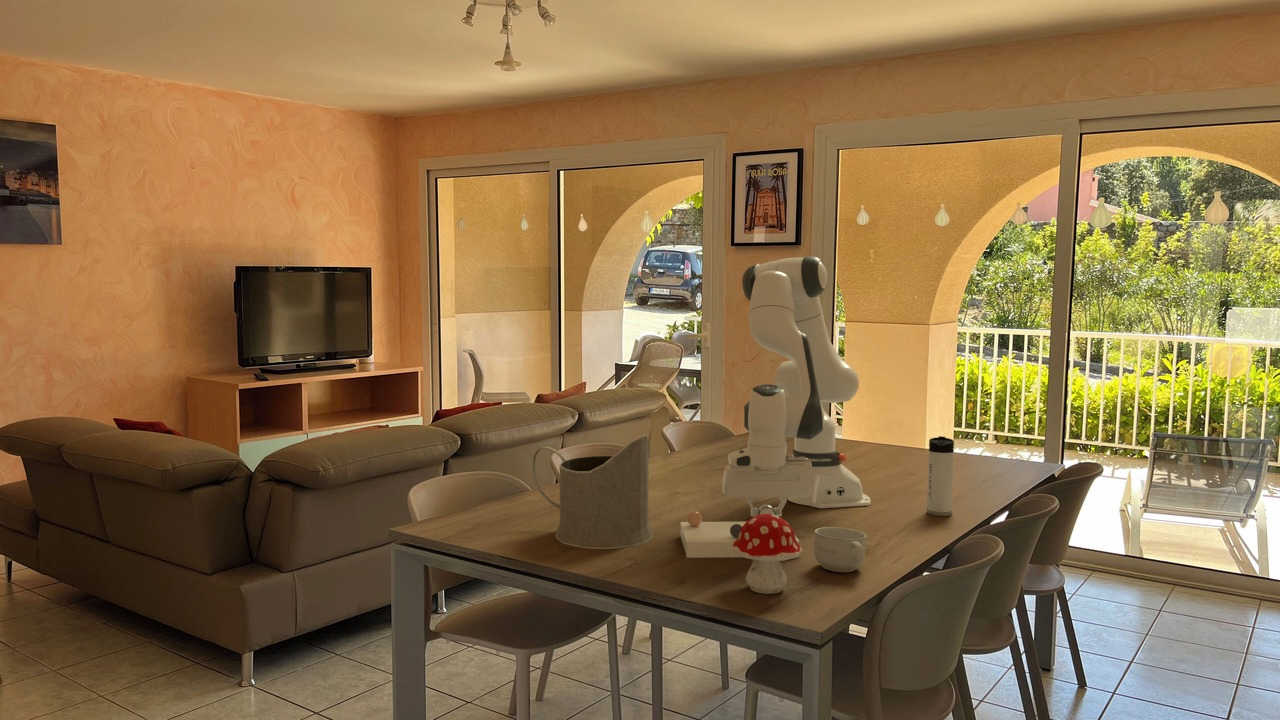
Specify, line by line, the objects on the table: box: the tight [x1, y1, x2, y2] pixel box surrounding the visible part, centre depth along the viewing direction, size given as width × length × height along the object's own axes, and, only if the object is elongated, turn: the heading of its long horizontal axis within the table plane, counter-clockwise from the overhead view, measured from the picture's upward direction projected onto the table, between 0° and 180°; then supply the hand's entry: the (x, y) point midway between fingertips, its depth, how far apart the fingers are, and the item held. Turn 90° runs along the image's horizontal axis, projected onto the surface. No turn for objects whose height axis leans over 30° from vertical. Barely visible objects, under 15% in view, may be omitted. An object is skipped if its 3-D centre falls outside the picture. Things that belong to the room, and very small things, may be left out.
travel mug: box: [926, 435, 955, 517], centre depth 241 cm, size 6×7×20 cm
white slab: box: [680, 521, 800, 559], centre depth 212 cm, size 25×17×4 cm
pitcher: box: [531, 434, 654, 550], centre depth 222 cm, size 23×32×25 cm
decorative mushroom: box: [732, 514, 803, 595], centre depth 182 cm, size 14×14×15 cm
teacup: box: [813, 526, 868, 573], centre depth 194 cm, size 14×11×8 cm
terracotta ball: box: [686, 510, 703, 526], centre depth 216 cm, size 4×4×4 cm
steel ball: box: [758, 504, 775, 515], centre depth 211 cm, size 4×4×4 cm
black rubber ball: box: [730, 524, 742, 538], centre depth 206 cm, size 3×3×3 cm
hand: (766, 515), depth 211 cm, fingers closed on steel ball, 4 cm apart
